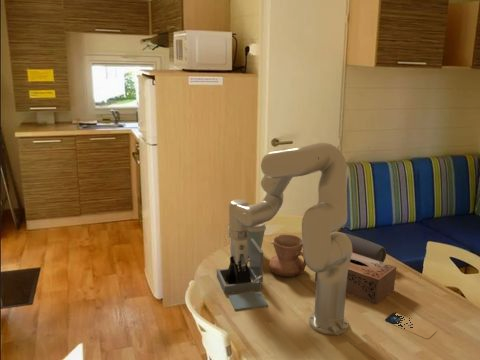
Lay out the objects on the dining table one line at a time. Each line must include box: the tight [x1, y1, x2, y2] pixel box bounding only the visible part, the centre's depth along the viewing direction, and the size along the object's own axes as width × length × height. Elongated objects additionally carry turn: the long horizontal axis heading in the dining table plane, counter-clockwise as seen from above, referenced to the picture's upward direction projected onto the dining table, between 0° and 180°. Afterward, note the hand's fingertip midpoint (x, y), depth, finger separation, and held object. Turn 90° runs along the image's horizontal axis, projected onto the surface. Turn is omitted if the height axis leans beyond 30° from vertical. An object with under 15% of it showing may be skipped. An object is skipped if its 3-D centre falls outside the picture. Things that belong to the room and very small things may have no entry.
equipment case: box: [216, 238, 265, 295], centre depth 173 cm, size 16×15×15 cm
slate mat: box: [227, 290, 269, 312], centre depth 162 cm, size 10×12×1 cm
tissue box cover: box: [314, 252, 397, 306], centre depth 173 cm, size 26×14×10 cm, turn 47°
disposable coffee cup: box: [247, 222, 267, 258], centre depth 199 cm, size 11×11×15 cm
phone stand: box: [224, 256, 252, 285], centre depth 174 cm, size 9×6×12 cm, turn 44°
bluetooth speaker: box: [341, 232, 387, 263], centre depth 196 cm, size 23×9×10 cm, turn 42°
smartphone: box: [384, 311, 413, 330], centre depth 149 cm, size 8×1×15 cm
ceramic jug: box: [268, 233, 307, 278], centre depth 183 cm, size 18×14×14 cm
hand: (238, 274), depth 174 cm, fingers open, 7 cm apart
